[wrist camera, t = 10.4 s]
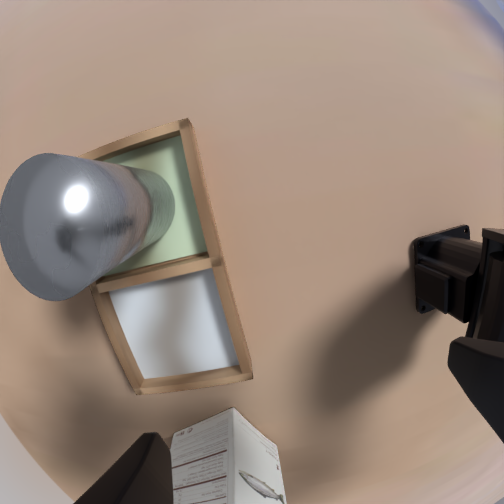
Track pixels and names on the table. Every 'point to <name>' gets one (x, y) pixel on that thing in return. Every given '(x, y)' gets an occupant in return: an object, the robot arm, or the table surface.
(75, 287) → the grey metal cylinder
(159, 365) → the wooden divided tray
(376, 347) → the table surface
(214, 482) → the supplement box
